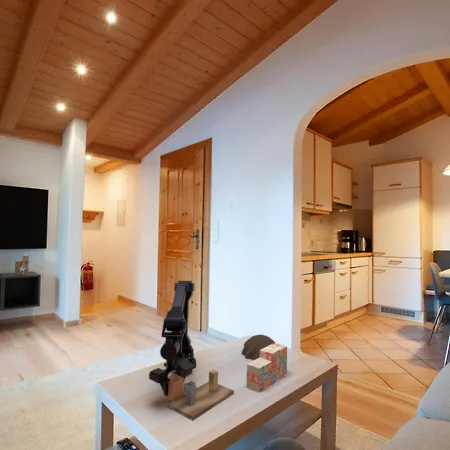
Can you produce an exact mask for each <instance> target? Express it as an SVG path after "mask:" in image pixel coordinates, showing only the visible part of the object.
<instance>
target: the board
mask: <svg viewBox="0 0 450 450" xmlns="http://www.w3.org/2000/svg"><path fill="white" fill-rule="evenodd" d="M234 394H235V390H234V389H231V388H229V387H226V386H224V385H221V384H219V383H218V390H217V391H216V392H214V393H213V392H211V391H209V381H206V383H203V384H202V385H200V386H198V387H196V403H195V404H194V405H192V406H189V405H187V404H186V393H185V394H183V396H181V397H179V398H178V399H176V400H174V401H170V402H169V403H167V408H169V409H171V410H172V411H174V412H177V413H178V414H180V415H182V416H183V417H186V418H187V419H189V420H190V421H191V420H192V421H194V420H196V419H197V418H199V417H200V416H201V415H203V414H205V413H206V412H209V410H212V408H214V407H215V406H217V405H218V404H220V403H222V402H224V401H225V400H227V399H228V398H230V397H231V396H232V395H234Z"/></svg>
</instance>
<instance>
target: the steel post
mask: <svg viewBox="0 0 450 450" xmlns="http://www.w3.org/2000/svg"><path fill="white" fill-rule="evenodd" d="M196 384H197V383H196V382H194V381H191V380H190V381H188V382H186V383H185V394H186V404H187V405H189V406H192V405H194V404H195V403H196V388H197V385H196Z"/></svg>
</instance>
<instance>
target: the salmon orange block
mask: <svg viewBox="0 0 450 450" xmlns="http://www.w3.org/2000/svg"><path fill="white" fill-rule="evenodd" d="M168 378H169V379H171V380H170V381H169V383H168V396H165V395H164V392H163V391H162V397H163V398H165V399H167V400H169V401H170V402H172V401H174V400H176V399H178V398H179V397H181V396H183V395H184V385H185V380H184V378H183V377H180V376H178V375H177V374H174V373H172V374H171V375H168Z"/></svg>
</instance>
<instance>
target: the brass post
mask: <svg viewBox="0 0 450 450" xmlns="http://www.w3.org/2000/svg"><path fill="white" fill-rule="evenodd" d="M208 382H209V391H211V392H213V393H214V392H216V391H217V390H218V384H219V383H218V382H219V371H217V370H215V369H212V370H209V371H208Z"/></svg>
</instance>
